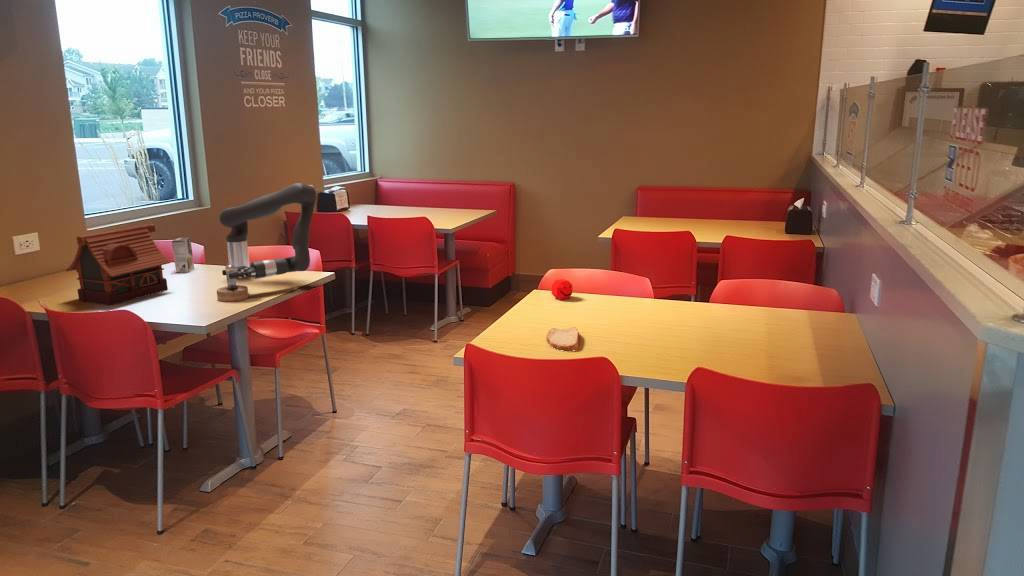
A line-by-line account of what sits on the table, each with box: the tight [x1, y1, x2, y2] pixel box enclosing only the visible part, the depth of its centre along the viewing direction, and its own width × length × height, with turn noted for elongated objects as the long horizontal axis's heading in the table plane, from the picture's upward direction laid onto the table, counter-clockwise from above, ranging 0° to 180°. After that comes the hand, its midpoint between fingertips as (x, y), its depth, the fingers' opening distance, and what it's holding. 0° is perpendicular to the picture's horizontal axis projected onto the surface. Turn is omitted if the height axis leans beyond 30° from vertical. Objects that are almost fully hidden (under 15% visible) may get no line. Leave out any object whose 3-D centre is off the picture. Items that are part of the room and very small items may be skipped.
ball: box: [551, 278, 573, 301], centre depth 304 cm, size 8×8×8 cm
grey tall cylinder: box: [224, 264, 237, 290], centre depth 310 cm, size 4×4×14 cm
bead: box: [216, 284, 249, 302], centre depth 311 cm, size 12×12×4 cm
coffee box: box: [171, 237, 195, 273], centre depth 363 cm, size 9×6×16 cm
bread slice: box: [546, 326, 581, 352], centre depth 249 cm, size 18×18×4 cm
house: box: [65, 223, 172, 306], centre depth 315 cm, size 35×28×29 cm
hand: (225, 274), depth 308 cm, fingers open, 8 cm apart
